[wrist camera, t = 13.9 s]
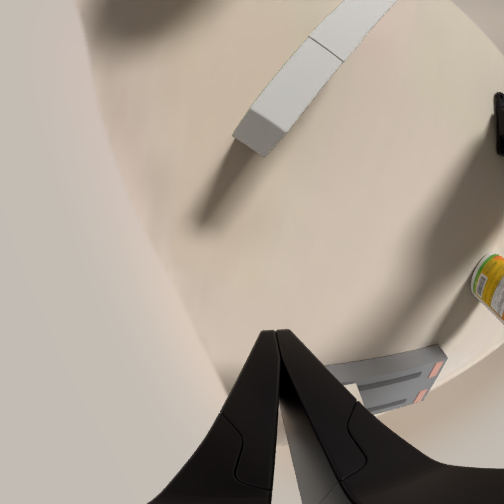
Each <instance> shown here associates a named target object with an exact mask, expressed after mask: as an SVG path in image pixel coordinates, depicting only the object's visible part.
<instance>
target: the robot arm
mask: <svg viewBox="0 0 504 504" xmlns="http://www.w3.org/2000/svg"><path fill="white" fill-rule="evenodd" d="M496 100H497V124H498V137H497V153H498V155H499V156H502V157H504V94H503V93H501V92H497V93H496ZM356 401H357V399H356V398H355V397H354V396H353V395H352V394H351V393H350V392H349V391H348V390H347V388H346V387H345V386H344V385H343V384H342V383H341V382H340V381H339V380H338V379H337V378H336V377H335V376H334V375H333V374H332V373H331V372H330V371H329V370H328V369H327V368H326V367H325V366H324V365H323V364H322V363H321V362H320V361H319V360H318V359H317V358H316V357H315V355H314V354H313V353H312V352H311V351H310V350H309V349H308V348H307V347H306V346H305V345H304V344H303V343H302V342H301V341H300V340H299V339H298V338H297V337H296V335H295V334H294V333H293V332H292V331H291V330H289V329H281V330H276V332H275V331H274V330H263V331H261V332H260V334H259V336H258V338H257V340H256V342H255V344H254V346H253V348H252V350H251V352H250V354H249V356H248V358H247V360H246V362H245V364H244V366H243V368H242V370H241V372H240V374H239V376H238V378H237V380H236V382H235V384H234V386H233V388H232V390H231V392H230V394H229V396H228V398H227V399H226V401H225V403H224V405H223V407H222V409H221V411H220V413H219V414H218V416H217V418H216V420H215V422H214V424H213V425H212V427H211V429H210V430H209V432H208V434H207V435H206V437H205V438H204V440H203V441H202V443H201V444H200V445H199V447H198V448H197V450H196V451H195V452H194V454H193V455H192V456H191V458H190V459H189V460H188V461H187V462H186V464H185V465H184V466H183V467H182V469H181V470H180V471H179V472H178V473H177V475H176V476H175V477H174V478H173V479H172V481H171V482H170V483H169V484H168V485H167V486H166V488H164V489H163V491H162V492H161V493H160V494H159V495H157V496H156V497H155V498H154V499H153V500H152V501H150V502H149V503H147V504H271V500H272V499H271V498H272V489H273V477H274V466H275V454H276V440H277V425H278V408H279V404H280V409H281V413H282V417H283V422H284V426H285V431H286V435H287V439H288V444H289V448H290V453H291V457H292V461H293V466H294V470H295V474H296V479H297V483H298V487H299V491H300V496H301V500H302V504H504V469H494V468H474V467H463V466H453V465H447V464H443V463H440V462H438V461H435V460H433V459H431V458H429V457H428V456H426V455H425V454H423V453H422V452H420V451H419V450H418V449H416V448H415V447H413V446H412V445H411V444H409V443H408V442H406V441H405V440H404V439H402V438H401V437H399V436H398V435H397V434H396V433H394V432H393V431H392V430H390V429H389V428H388V427H387V426H385V425H384V424H383V423H382V422H380V421H379V420H378V419H377V418H376V417H375V416H374V415H373V414H372V413H371V412H370V411H369V410H367V409H366V408H365V407H364V406H363V405H362V404H361V403H360V401H357V402H356Z"/></svg>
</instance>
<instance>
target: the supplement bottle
mask: <svg viewBox="0 0 504 504" xmlns="http://www.w3.org/2000/svg"><path fill="white" fill-rule="evenodd" d="M471 291H472V293H473V295H474V296H475V297H476V298H477V299H478V300H479V301H480V302H481V303H483V304H484V305H485V306H486V307H487V308H488V309H489V310H490V311H491V312H492V313H493V314H494V315H495V316H496V317H497V318H498V319H499V320H500V321H501V322H502V323H503V324H504V258H503V257H501V256H500V255H498V254H496V253H489V254H487V255H486V256H484V257H483V258H482V260H481V261H480V262H479V263H478V265H477V267H476V269H475V271H474V273H473V276H472V279H471Z"/></svg>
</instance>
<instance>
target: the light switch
mask: <svg viewBox="0 0 504 504" xmlns="http://www.w3.org/2000/svg"><path fill="white" fill-rule="evenodd" d="M396 1H397V0H344V1H343V2H342V3H341V4H340V5H339V6H338V7H337V8H336V9H335V10H334V11H333V12H332V13H331V14H330V15H328V16H327V17H326V18H325V19H324V20H323V21H322V22H321V23H320V24H319V25H318V26H317V27H316V28H315V30H314V31H313V32H312V33H311V34H310V35H309V36H308V38H307V39H306V40H305V41H304V43H303V44H302V45H301V46H300V47H299V48H298V49H297V50H296V52H295V53H294V54H293V55H292V56H291V57H290V59H289V60H288V61H287V62H286V63H285V64H284V66H283V67H282V68H281V69H280V70H279V72H278V73H277V74H276V75H275V77H274V78H273V79H272V80H271V81H270V83H269V84H268V85H267V86H266V88H265V89H264V90H263V92H262V93H261V94H260V95H259V97H258V98H257V99H256V101H255V102H254V103H253V105H252V106H251V107H250V109H249V110H248V111H247V113H246V114H245V116H244V117H243V119H242V120H241V122H240V123H239V125H238V126H237V128H236V129H235V131H234V132H233V134H232V136H233V137H234V138H236V139H237V140H239V141H240V142H242V143H243V144H245V145H246V146H248V147H249V148H251V149H252V150H254V151H255V152H257V153H258V154H260V155H261V156H263V157H265V156H266V155H267V154H268V153H269V152H270V151H271V150H272V149H273V148H274V147H275V146H276V144H277V143H278V142H279V141H280V140H281V139H282V138H283V137H284V136H285V135H286V134H287V132H288V131H289V130H290V129H291V127H292V126H293V125H294V123H295V122H296V121H297V119H298V118H299V117H300V116H301V114H302V113H303V112H304V110H305V109H306V108H307V107H308V105H309V104H310V103H311V101H312V100H313V99H314V98H315V96H316V95H317V94H318V93H319V91H320V90H321V89H322V88H323V86H324V85H325V84H326V83H327V81H328V80H329V79H330V78H331V76H332V75H333V74H334V73H335V72H336V70H337V69H338V68H339V67H340V65H341V64H342V63H343V62H345V61H346V59H347V58H348V57H349V56H350V55H351V53H352V52H353V51H354V50H355V49H356V47H357V46H358V45H359V44H360V43H361V42H362V39H363V38H364V37H365V36H366V35H367V34H368V32H369V31H370V30H371V29H372V28H373V27H374V26H375V24H376V23H377V22H378V21H379V20H380V19H381V18H382V17H383V16H384V14H385V13H386V12H387V11H388V10H389V9H390V8H391V7H392V6H393V5H394V3H395V2H396Z"/></svg>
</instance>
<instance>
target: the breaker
mask: <svg viewBox="0 0 504 504" xmlns="http://www.w3.org/2000/svg"><path fill="white" fill-rule="evenodd" d="M344 386H345V387H346V388H347V390H348V391H349V392H350V393H351V394H352V395H353V396H354V397H355V398H356V399H357V401H360V403H361V404H362V405H363V406H364V404H363V401H362V398H361V396H360V393H359V390H358V388H357V385H356V383H355V384H349V385H344ZM357 401H356V402H357ZM364 407H365V406H364Z"/></svg>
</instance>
